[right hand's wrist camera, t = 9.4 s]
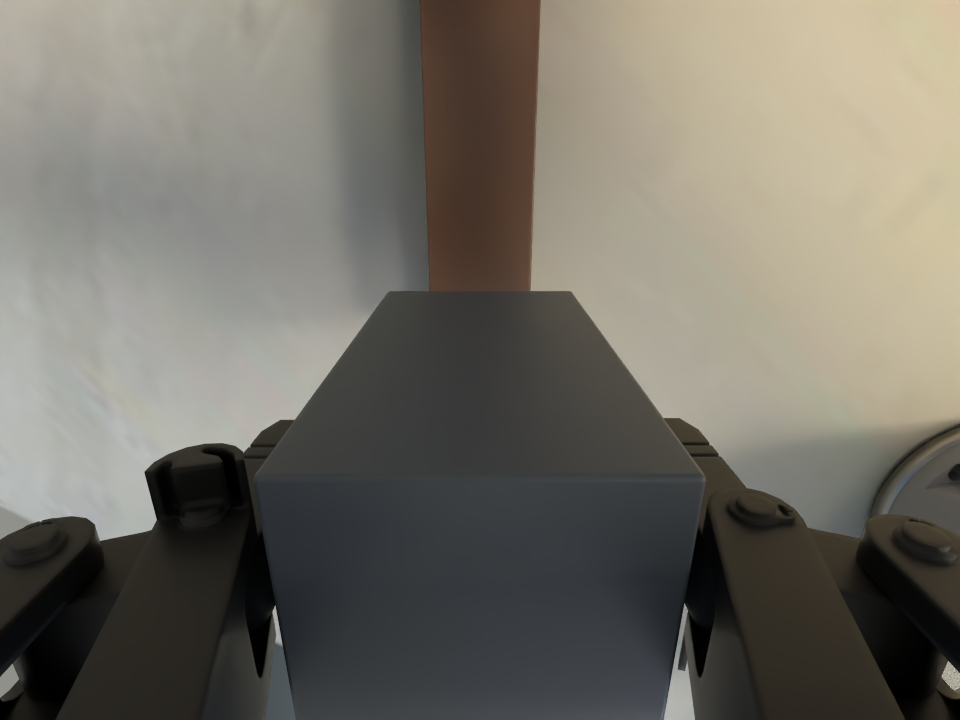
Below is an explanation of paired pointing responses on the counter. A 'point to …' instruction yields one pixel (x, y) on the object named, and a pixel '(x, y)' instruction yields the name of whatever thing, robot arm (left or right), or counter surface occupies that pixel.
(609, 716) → the grey block
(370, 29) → the counter surface
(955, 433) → the right robot arm
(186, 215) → the counter surface
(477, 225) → the walnut rail
